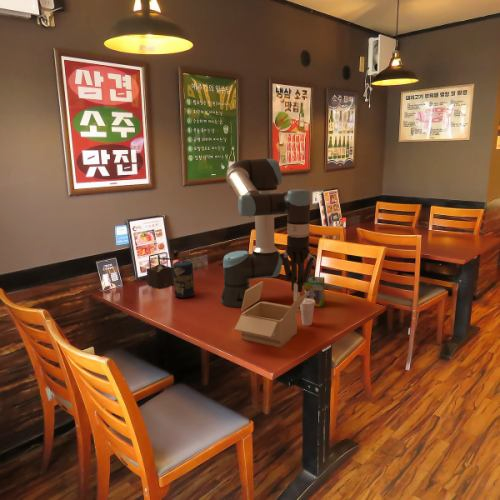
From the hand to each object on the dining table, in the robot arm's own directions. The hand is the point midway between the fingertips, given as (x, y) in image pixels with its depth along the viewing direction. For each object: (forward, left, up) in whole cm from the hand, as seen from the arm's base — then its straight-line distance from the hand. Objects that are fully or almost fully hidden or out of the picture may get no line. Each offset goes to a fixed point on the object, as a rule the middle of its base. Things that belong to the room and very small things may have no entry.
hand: (296, 300), depth 151 cm
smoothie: (-3, +17, -16) cm, 24 cm away
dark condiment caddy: (-92, +34, -16) cm, 100 cm away
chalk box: (-9, +40, -16) cm, 44 cm away
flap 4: (0, 0, -2) cm, 2 cm away
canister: (-70, +23, -16) cm, 76 cm away
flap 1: (-18, 0, -1) cm, 18 cm away
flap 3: (-11, +11, -8) cm, 17 cm away
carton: (-11, 0, -16) cm, 20 cm away
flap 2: (-11, -10, -8) cm, 17 cm away
